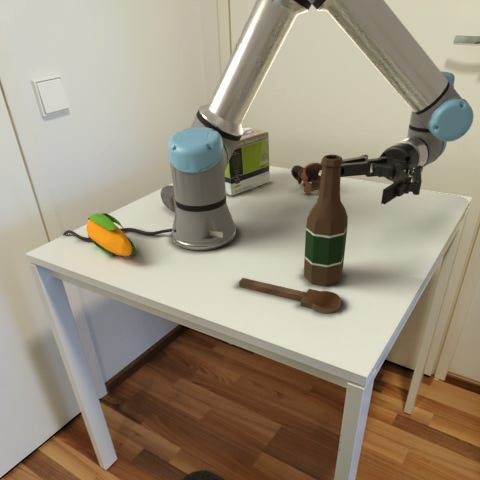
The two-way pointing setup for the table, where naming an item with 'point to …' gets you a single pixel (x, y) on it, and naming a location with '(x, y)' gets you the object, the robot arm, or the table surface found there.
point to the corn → (109, 235)
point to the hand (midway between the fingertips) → (351, 189)
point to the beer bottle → (326, 228)
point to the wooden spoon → (298, 295)
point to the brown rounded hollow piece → (308, 176)
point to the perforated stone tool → (168, 197)
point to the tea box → (248, 162)
